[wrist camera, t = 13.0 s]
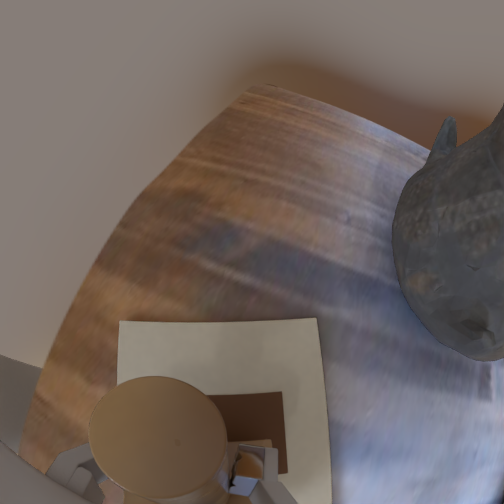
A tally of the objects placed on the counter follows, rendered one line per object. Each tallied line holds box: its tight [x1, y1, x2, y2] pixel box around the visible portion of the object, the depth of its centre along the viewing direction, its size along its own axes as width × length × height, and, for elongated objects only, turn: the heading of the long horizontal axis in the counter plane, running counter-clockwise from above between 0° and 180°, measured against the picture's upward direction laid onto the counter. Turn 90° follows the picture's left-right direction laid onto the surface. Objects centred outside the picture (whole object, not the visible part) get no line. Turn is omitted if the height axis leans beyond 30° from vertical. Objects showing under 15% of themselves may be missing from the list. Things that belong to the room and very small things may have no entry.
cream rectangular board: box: [117, 317, 332, 504], centre depth 14 cm, size 14×20×1 cm
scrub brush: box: [88, 376, 272, 504], centre depth 8 cm, size 8×6×13 cm
